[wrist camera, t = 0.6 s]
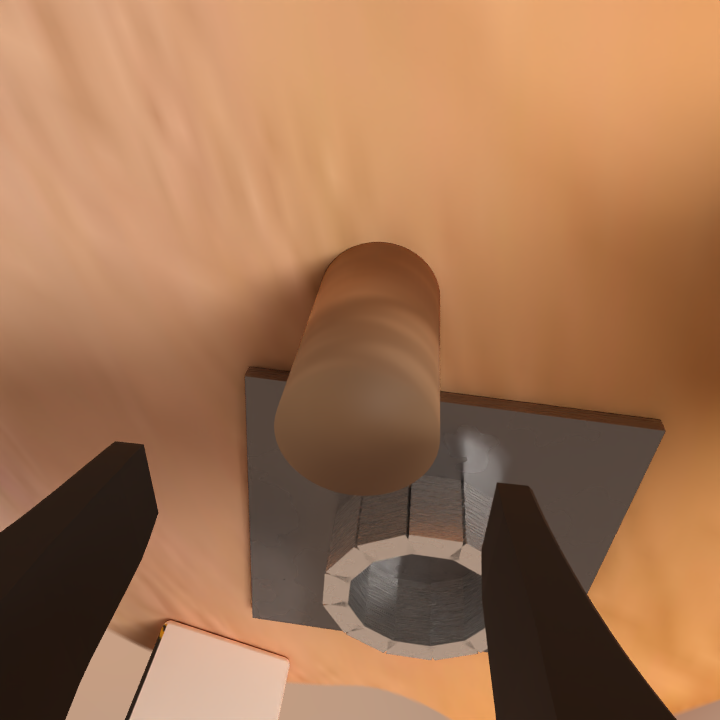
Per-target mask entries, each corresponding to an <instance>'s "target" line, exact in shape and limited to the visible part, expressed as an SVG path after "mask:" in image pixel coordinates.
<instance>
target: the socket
mask: <svg viewBox="0 0 720 720" xmlns="http://www.w3.org/2000/svg"><path fill="white" fill-rule="evenodd" d="M289 374H290V372H286V371H278V370H270V369H262V368H255V367H249V368H248V370H247V373H246V375H245V395H246V426H247V457H248V488H249V519H250V550H251V581H252V613H253V618H258V619H265V620H272V621H278V622H285V623H292V624H299V625H306V626H312V627H319V628H326V629H333V630H340V631H343V632H344V633H345V632H346V634H347V635H349V636H351V637H353V638H355V639H357V640H359V641H361V642H363V643H365V644H367V645H369V646H371V647H373V648H375V649H377V650H379V651H381V652H383V653H384V652H385V651H386V654H392V655H399V656H406V657H413V658H419V659H426V660H432V657H433V659H434V660H440V659H446V658H453V657H459V656H466V655H472V654H478V652H480V653H481V652H488V647H487V639H486V631H485V622H484V614H483V605H482V577H481V549H482V545H483V541H484V536H485V532H486V528H487V523H488V519H489V515H490V510H491V506H492V502H493V497H494V493H495V489H496V484H497V482H499V483H508V484H517V485H527V486H529V487H530V488H531V489H532V490H533V493H534V495H535V497H536V499H537V502H538V504H539V506H540V508H541V510H542V513H543V515H544V517H545V519H546V521H547V523H548V525H549V527H550V529H551V531H552V533H553V535H554V537H555V539H556V541H557V543H558V545H559V546H560V548H561V550H562V552H563V554H564V556H565V558H566V559H567V561H568V563H569V565H570V566H571V568H572V570H573V572H574V573H575V575H576V577H577V578H578V580H579V582H580V584H581V585H582V587H583V589H584V591H585V592H586V594H587V593H588V591H589V589H590V587H591V585H592V583H593V581H594V578H595V576H596V574H597V572H598V570H599V568H600V566H601V564H602V562H603V560H604V558H605V556H606V554H607V552H608V549H609V547H610V545H611V543H612V541H613V539H614V537H615V535H616V533H617V531H618V529H619V527H620V525H621V522H622V520H623V518H624V516H625V514H626V512H627V510H628V508H629V506H630V504H631V502H632V500H633V498H634V495H635V493H636V491H637V489H638V487H639V485H640V483H641V481H642V479H643V477H644V475H645V473H646V471H647V469H648V466H649V464H650V462H651V460H652V458H653V456H654V454H655V452H656V450H657V448H658V446H659V444H660V442H661V439H662V437H663V435H664V433H665V429H664V426H663V424H662V422H661V420H657V419H649V418H641V417H633V416H626V415H618V414H610V413H603V412H595V411H587V410H579V409H572V408H564V407H556V406H548V405H541V404H533V403H525V402H518V401H510V400H502V399H494V398H487V397H479V396H471V395H463V394H456V393H448V392H440V445H439V450H438V453H437V456H436V458H435V460H434V462H433V464H432V465H431V467H430V468H429V470H428V471H427V472H426V473H425V474H424V475H423V476H422V477H421V478H419V479H418V480H417V481H415V482H414V483H412V484H410V485H409V486H407V487H405V488H402V489H400V490H397V491H394V492H391V493H386V494H381V495H373V496H358V495H348V494H343V493H338V492H335V491H331V490H329V489H326V488H323V487H321V486H319V485H317V484H315V483H313V482H311V481H310V480H308V479H306V478H305V477H303V476H302V475H301V474H300V473H298V472H297V471H296V470H295V469H294V468H293V467H292V466H291V465H290V464H289V463H288V461H287V460H286V459H285V458H284V456H283V454H282V453H281V451H280V449H279V446H278V444H277V441H276V437H275V432H274V421H275V415H276V411H277V408H278V405H279V402H280V399H281V397H282V394H283V391H284V388H285V385H286V382H287V379H288V377H289Z"/></svg>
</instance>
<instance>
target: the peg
mask: <svg viewBox="0 0 720 720" xmlns="http://www.w3.org/2000/svg"><path fill="white" fill-rule="evenodd" d="M274 432H275V437H276V441H277V444H278V446H279V449H280V451H281V453H282V454H283V456H284V458H285V459H286V460H287V461H288V463H289V464H290V465H291V466H292V467H293V468H294V469H295V470H296V471H297V472H298V473H300V474H301V475H302V476H303V477H305V478H306V479H308V480H310V481H311V482H313V483H315V484H317V485H319V486H321V487H323V488H326V489H329V490H331V491H335V492H338V493H343V494H348V495H358V496H373V495H381V494H386V493H391V492H394V491H397V490H400V489H402V488H405V487H407V486H409V485H410V484H412V483H414V482H415V481H417V480H418V479H419V478H421V477H422V476H423V475H424V474H425V473H426V472H427V471H428V470H429V468H430V467H431V465H432V464H433V462H434V460H435V458H436V456H437V453H438V450H439V445H440V290H439V285H438V282H437V279H436V277H435V275H434V273H433V271H432V270H431V268H430V267H429V266H428V264H427V263H426V262H425V261H424V260H423V259H422V258H420V257H419V256H418V255H417V254H415V253H414V252H412V251H410V250H409V249H406V248H404V247H402V246H399V245H396V244H391V243H385V242H371V243H365V244H360V245H357V246H354V247H352V248H350V249H348V250H346V251H345V252H343V253H341V254H340V255H339V256H338V257H337V258H335V259H334V261H333V262H332V263H331V264H330V265H329V267H328V269H327V270H326V272H325V274H324V277H323V279H322V282H321V285H320V288H319V291H318V294H317V296H316V299H315V302H314V305H313V308H312V311H311V314H310V316H309V319H308V322H307V325H306V328H305V331H304V334H303V336H302V339H301V342H300V345H299V348H298V351H297V354H296V357H295V359H294V362H293V365H292V368H291V371H290V374H289V377H288V379H287V382H286V385H285V388H284V391H283V394H282V397H281V399H280V402H279V405H278V408H277V411H276V415H275V421H274Z"/></svg>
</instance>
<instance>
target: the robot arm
mask: <svg viewBox="0 0 720 720" xmlns="http://www.w3.org/2000/svg"><path fill="white" fill-rule="evenodd" d="M157 515H158V509H157V504H156V500H155V495H154V490H153V486H152V481H151V477H150V472H149V467H148V463H147V458H146V454H145V449H144V445H143V444H134V443H124V442H114V443H113V444H111V445H110V446H109V447H108V448H106V449H105V450H104V451H103V452H101V453H100V454H99V455H98V456H96V457H95V458H94V459H93V460H92V461H90V462H89V463H88V464H87V465H85V466H84V467H83V468H82V469H81V470H79V471H78V472H77V473H76V474H75V475H73V476H72V477H71V478H70V479H68V480H67V481H66V482H65V483H64V484H62V485H61V486H60V487H59V488H57V489H56V490H55V491H54V492H52V493H51V494H50V495H49V496H47V497H46V498H45V499H44V500H42V501H41V502H40V503H39V504H37V505H36V506H35V507H34V508H32V509H31V510H30V511H28V512H27V513H26V514H25V515H23V516H22V517H21V518H19V519H18V520H17V521H15V522H14V523H13V524H11V525H10V526H8V527H7V528H6V529H4V530H3V531H2V532H0V720H65V719H66V716H67V714H68V711H69V708H70V706H71V704H72V701H73V699H74V696H75V694H76V691H77V689H78V686H79V684H80V682H81V679H82V677H83V675H84V673H85V671H86V669H87V666H88V664H89V662H90V660H91V658H92V656H93V654H94V652H95V650H96V648H97V646H98V644H99V642H100V640H101V639H102V637H103V635H104V633H105V631H106V629H107V627H108V625H109V623H110V621H111V619H112V617H113V615H114V613H115V611H116V609H117V607H118V605H119V603H120V602H121V600H122V598H123V596H124V594H125V592H126V590H127V588H128V586H129V584H130V582H131V580H132V578H133V576H134V574H135V572H136V570H137V568H138V566H139V564H140V562H141V560H142V557H143V555H144V552H145V549H146V547H147V544H148V541H149V539H150V536H151V533H152V530H153V527H154V524H155V521H156V518H157ZM481 577H482V605H483V614H484V622H485V631H486V639H487V647H488V655H489V664H490V672H491V680H492V688H493V696H494V704H495V713H496V720H677V719H676V718H675V717H674V716H673V715H672V713H671V712H670V711H669V710H668V708H667V707H666V706H665V705H664V703H663V702H662V701H661V699H660V698H659V697H658V696H657V694H656V693H655V692H654V691H653V689H652V688H651V687H650V685H649V684H648V683H647V682H646V680H645V679H644V678H643V676H642V675H641V674H640V672H639V671H638V669H637V668H636V667H635V665H634V664H633V663H632V661H631V660H630V659H629V657H628V656H627V655H626V653H625V652H624V650H623V649H622V647H621V646H620V645H619V643H618V642H617V640H616V639H615V637H614V636H613V634H612V633H611V631H610V630H609V628H608V627H607V625H606V624H605V622H604V621H603V619H602V618H601V616H600V614H599V613H598V611H597V610H596V608H595V607H594V605H593V604H592V602H591V600H590V599H589V597H588V595H587V594H586V592H585V591H584V589H583V587H582V585H581V584H580V582H579V580H578V578H577V577H576V575H575V573H574V572H573V570H572V568H571V566H570V565H569V563H568V561H567V559H566V558H565V556H564V554H563V552H562V550H561V548H560V546H559V545H558V543H557V541H556V539H555V537H554V535H553V533H552V531H551V529H550V527H549V525H548V523H547V521H546V519H545V517H544V515H543V513H542V510H541V508H540V506H539V504H538V502H537V499H536V497H535V495H534V493H533V490H532V489H531V488H530V487H529V486H527V485H517V484H508V483H499V482H497V484H496V489H495V493H494V497H493V502H492V506H491V510H490V515H489V519H488V523H487V528H486V532H485V536H484V541H483V545H482V549H481Z"/></svg>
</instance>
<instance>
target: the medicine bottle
mask: <svg viewBox="0 0 720 720" xmlns="http://www.w3.org/2000/svg"><path fill="white" fill-rule="evenodd" d="M288 670H289V660H288V659H287V658H286V657H283V656H280V655H277V654H274V653H270V652H267V651H264V650H261V649H258V648H255V647H252V646H249V645H246V644H243V643H240V642H237V641H234V640H231V639H228V638H224V637H221V636H218V635H215V634H212V633H209V632H206V631H203V630H200V629H197V628H194V627H191V626H188V625H185V624H181V623H178V622H175V621H172V620H170V621H167V622H165V624H164V625H163V627H162V629H161V632H160V634H159V637H158V639H157V642H156V644H155V647H154V649H153V652H152V654H151V656H150V659H149V662H148V664H147V666H146V669H145V672H144V674H143V676H142V679H141V681H140V684H139V686H138V689H137V691H136V694H135V696H134V698H133V701H132V704H131V706H130V708H129V711H128V713H127V716H126V718H125V720H278V718H279V713H280V709H281V704H282V699H283V694H284V690H285V685H286V680H287V675H288Z"/></svg>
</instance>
